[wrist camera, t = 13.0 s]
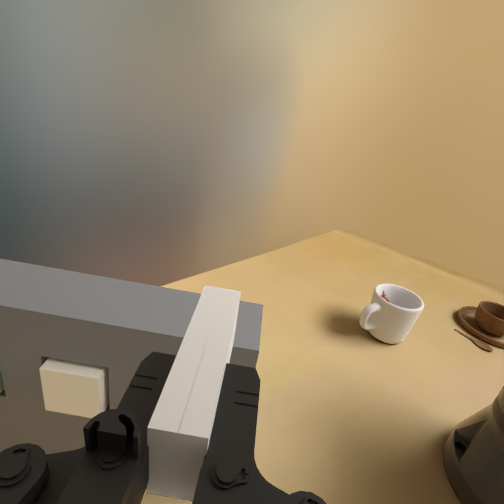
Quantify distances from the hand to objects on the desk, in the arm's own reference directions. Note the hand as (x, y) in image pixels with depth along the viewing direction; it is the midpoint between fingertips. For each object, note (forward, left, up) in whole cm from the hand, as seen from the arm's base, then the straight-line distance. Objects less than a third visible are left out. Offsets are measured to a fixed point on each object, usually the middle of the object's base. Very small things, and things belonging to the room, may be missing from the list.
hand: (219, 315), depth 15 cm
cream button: (+6, -14, -18) cm, 23 cm away
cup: (-38, -24, -27) cm, 52 cm away
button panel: (+6, -14, -26) cm, 30 cm away
